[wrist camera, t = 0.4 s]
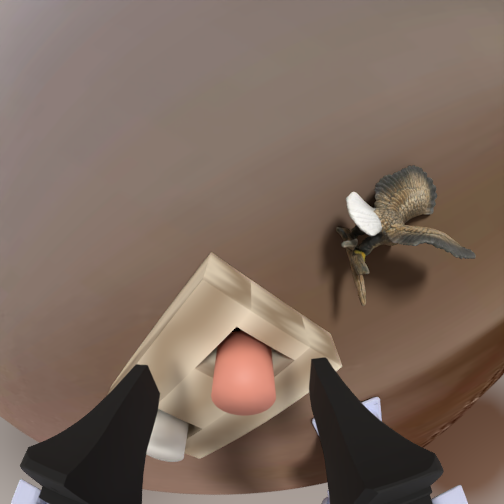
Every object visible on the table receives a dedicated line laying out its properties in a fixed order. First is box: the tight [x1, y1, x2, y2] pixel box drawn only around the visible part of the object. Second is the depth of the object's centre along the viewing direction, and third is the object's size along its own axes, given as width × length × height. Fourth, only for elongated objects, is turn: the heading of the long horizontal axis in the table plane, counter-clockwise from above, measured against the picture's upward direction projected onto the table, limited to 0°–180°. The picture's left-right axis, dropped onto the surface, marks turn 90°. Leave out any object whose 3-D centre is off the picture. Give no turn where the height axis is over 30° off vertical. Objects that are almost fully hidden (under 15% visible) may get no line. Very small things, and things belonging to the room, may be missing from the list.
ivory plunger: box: [146, 409, 189, 462], centre depth 22 cm, size 4×4×4 cm
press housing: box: [108, 252, 342, 459], centre depth 22 cm, size 12×20×4 cm, turn 142°
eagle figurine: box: [336, 165, 475, 306], centre depth 16 cm, size 8×7×9 cm
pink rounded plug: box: [211, 331, 276, 416], centre depth 18 cm, size 4×4×4 cm
